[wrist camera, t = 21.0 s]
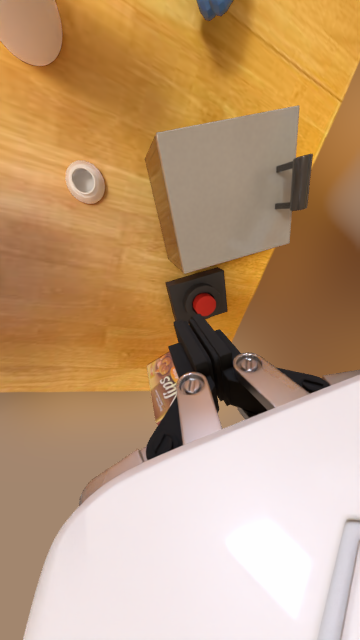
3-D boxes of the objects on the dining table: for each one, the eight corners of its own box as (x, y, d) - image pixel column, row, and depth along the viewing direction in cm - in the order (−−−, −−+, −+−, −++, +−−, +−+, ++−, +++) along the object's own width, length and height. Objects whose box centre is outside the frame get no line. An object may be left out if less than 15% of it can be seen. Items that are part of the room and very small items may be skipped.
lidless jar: (111, 194, 30) (90, 154, 27) (111, 192, 27) (87, 148, 25) (82, 209, 30) (58, 172, 27) (79, 209, 27) (52, 167, 25)
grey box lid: (294, 108, 23) (339, 80, 18) (285, 242, 30) (315, 247, 25) (154, 135, 21) (165, 112, 16) (182, 272, 28) (195, 283, 23)
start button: (194, 314, 39) (197, 318, 37) (191, 296, 37) (194, 299, 35) (213, 308, 39) (217, 312, 38) (211, 290, 37) (214, 293, 36)
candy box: (155, 375, 48) (168, 435, 35) (145, 365, 46) (155, 424, 33) (185, 356, 48) (210, 409, 35) (177, 344, 46) (200, 396, 33)
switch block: (175, 321, 43) (180, 331, 39) (165, 282, 38) (170, 289, 34) (222, 306, 44) (231, 315, 40) (217, 267, 40) (228, 272, 36)
